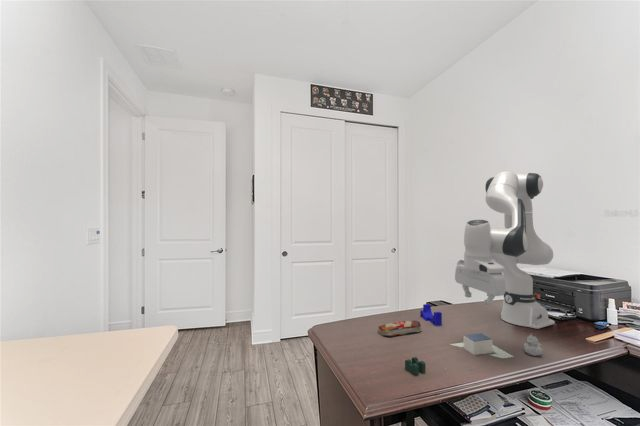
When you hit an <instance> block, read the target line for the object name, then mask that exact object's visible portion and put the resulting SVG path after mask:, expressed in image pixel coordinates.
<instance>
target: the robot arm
mask: <svg viewBox="0 0 640 426" xmlns="http://www.w3.org/2000/svg"><path fill="white" fill-rule="evenodd" d="M543 188H544V182H543V179H542V176H541V175H540V174H539V173H532V172H528V173H515V172H513V171H510V170H509V171H508V170H506V171H505V170H504V171H500V172H498V173H497V174H495V176H493V177H490V178H489V179H487V180H486V183H485V192H486V194H485V203H486V205H487V206H488V207H489V208H490V209H491V210H493V211H495V212H497V213H500V214H504V228H491V224H490V221H488V220H486V219H473V220H469V221H467V222H466V224H465V228H464V236H463V244H464V248H465V249H464V255H463V259H460V260H458V261H457V262H456V267H455V272H454V273H455V274H454V280H455V282H456V283H457V284H460V285H462V289H463V291H464V297H466V298H472V292H471V291H470V288H471V289H475V290H477V291H481V292H483V293H486V296H487V297H486V298H487V299H484V305H486V306H490V307H492V305H493V300H494V299H495V297H501V296H503V300H502V310H501V312H500V318H501V320H503V321H504V322H507V323H508V324H509V323H510V324H512V325H515V326H516V325H517V326H520V327H527V328H531V329H542V328H545V327H549V326H552V325H555V324H556V323H555V322H556V321H555V320H553V319H551V318H549V313H548V310H547V308H546V307H544V306H543V305H541V304H540V303H539V302H538V301H537V299H540V298H541V295H540V294H539V293H538V294H537V293H533V291H534V290H533V287H534V283H533V282H534V279H533V277H532V275H530V273H528V272H526V271H524V270H522V269H520V268H519V267H518V265H517V264H520V265H521V264H522V265H531V266H542V265H548V264H550V263H551V262H552V260H553V258H554V251H553V248H552V247H551V246H550V245H549V244H548V243H546V242H545V241H543V240H542V239H541V238H540V237H539V236H538V234H537V233H536V231H535V229H534V218H533V217H534V215H533V203H532V202H533V201H532V200H533V199H535V197H537V196H539V195H540V194H541V193H542V191H543Z"/></svg>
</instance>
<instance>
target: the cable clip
mask: <svg viewBox="0 0 640 426" xmlns="http://www.w3.org/2000/svg"><path fill="white" fill-rule="evenodd" d="M431 306H432V305H431V304H430V303H428V304H426V303H425V304H422V308H423V310H422V309H421V310H420V312H419V313H420V314H419V315H420V317H421V318H422V319H424V321H426V322H430V323H431V324H432V325H434V327H438V326H439V327H441V326H443V316H442V315H443V313H442V312H441V311H434V312H432V308H431Z"/></svg>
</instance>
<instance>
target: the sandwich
mask: <svg viewBox="0 0 640 426" xmlns="http://www.w3.org/2000/svg"><path fill="white" fill-rule="evenodd" d="M421 326H422V323H421V322H420V321H418V320H405V321H404V320H403V321H395V322H390V323H386V324H381V325H378V333H379V335H380V334H381V335H380V336H384V337H397V335H398V336H402V335H407V334H417V333H419V332H421Z"/></svg>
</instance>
